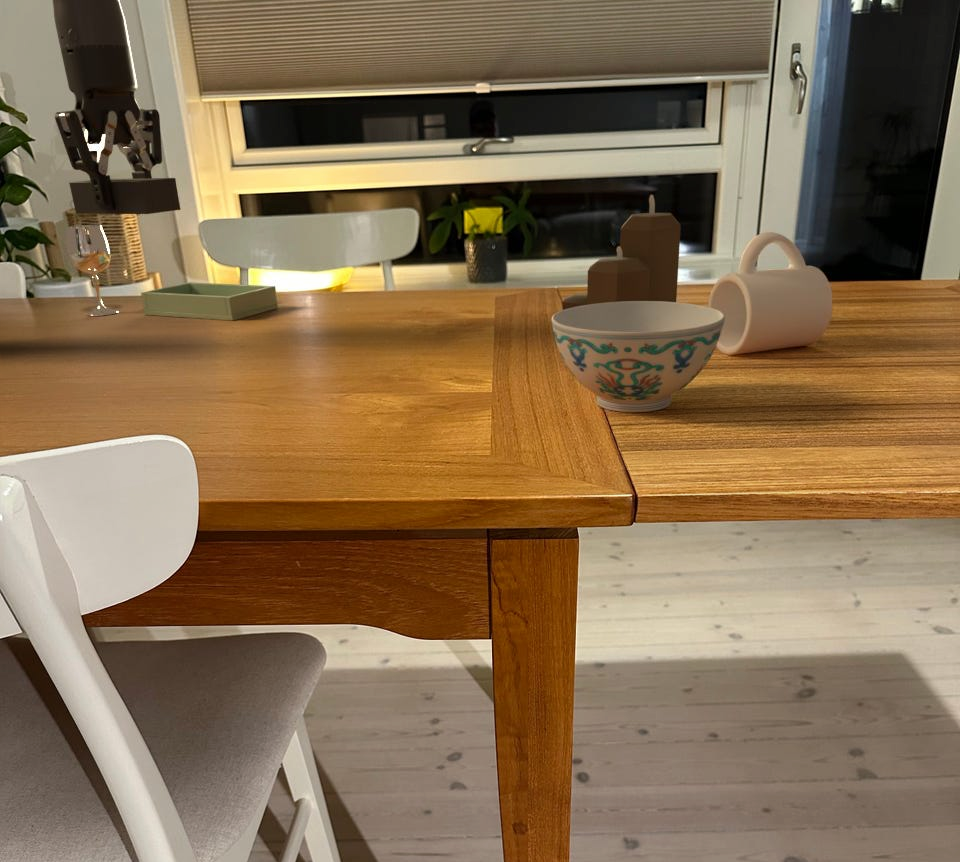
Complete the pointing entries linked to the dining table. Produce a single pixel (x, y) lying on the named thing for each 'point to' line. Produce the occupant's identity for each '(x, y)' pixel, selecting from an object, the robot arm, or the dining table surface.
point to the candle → (637, 263)
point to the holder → (210, 301)
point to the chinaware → (636, 349)
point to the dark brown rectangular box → (129, 196)
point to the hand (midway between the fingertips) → (127, 206)
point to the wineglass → (90, 256)
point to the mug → (771, 301)
